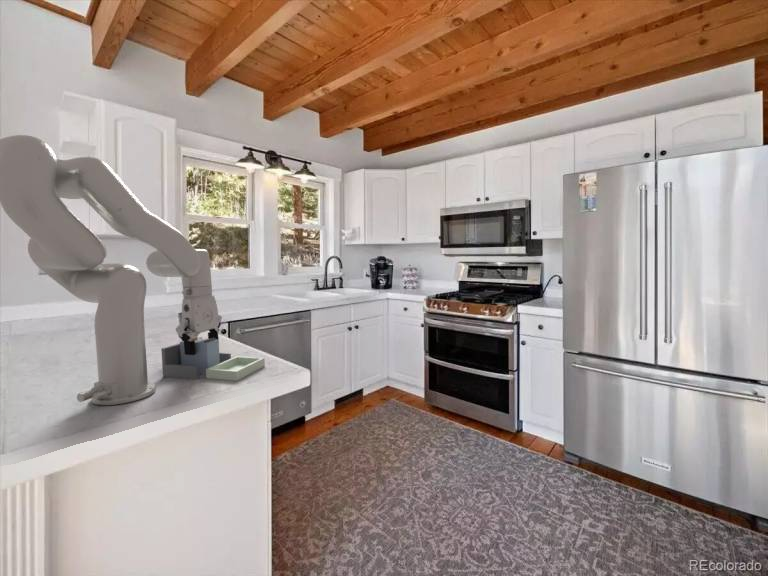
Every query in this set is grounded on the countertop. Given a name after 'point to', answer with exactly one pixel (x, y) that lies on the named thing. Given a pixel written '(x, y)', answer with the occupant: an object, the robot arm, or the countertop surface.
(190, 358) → the slate blue upright block
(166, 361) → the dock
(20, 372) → the countertop surface
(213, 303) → the robot arm
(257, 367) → the tray
